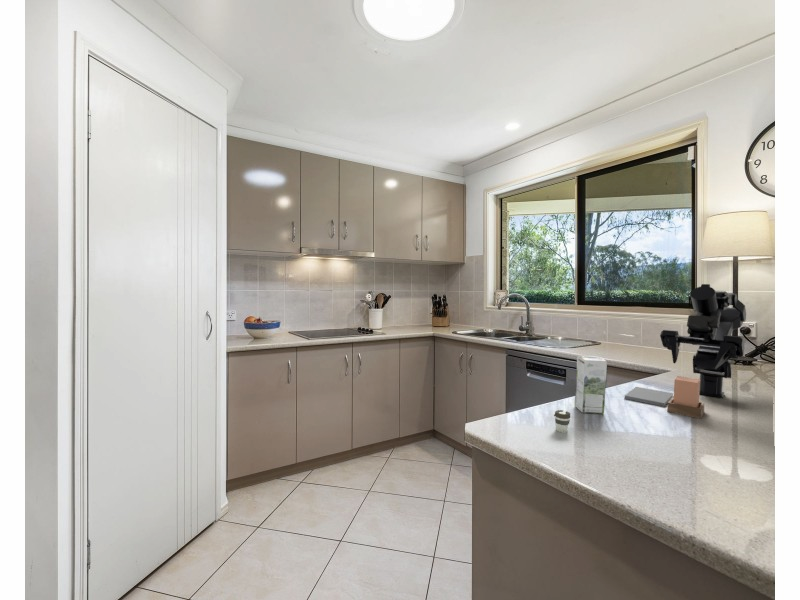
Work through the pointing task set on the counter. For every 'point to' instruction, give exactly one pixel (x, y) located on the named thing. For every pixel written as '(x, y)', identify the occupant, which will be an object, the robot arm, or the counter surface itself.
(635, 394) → the slate board
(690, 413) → the walnut holder
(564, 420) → the coffee cup
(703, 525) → the counter surface
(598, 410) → the syrup box
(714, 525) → the counter surface
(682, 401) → the terracotta block
